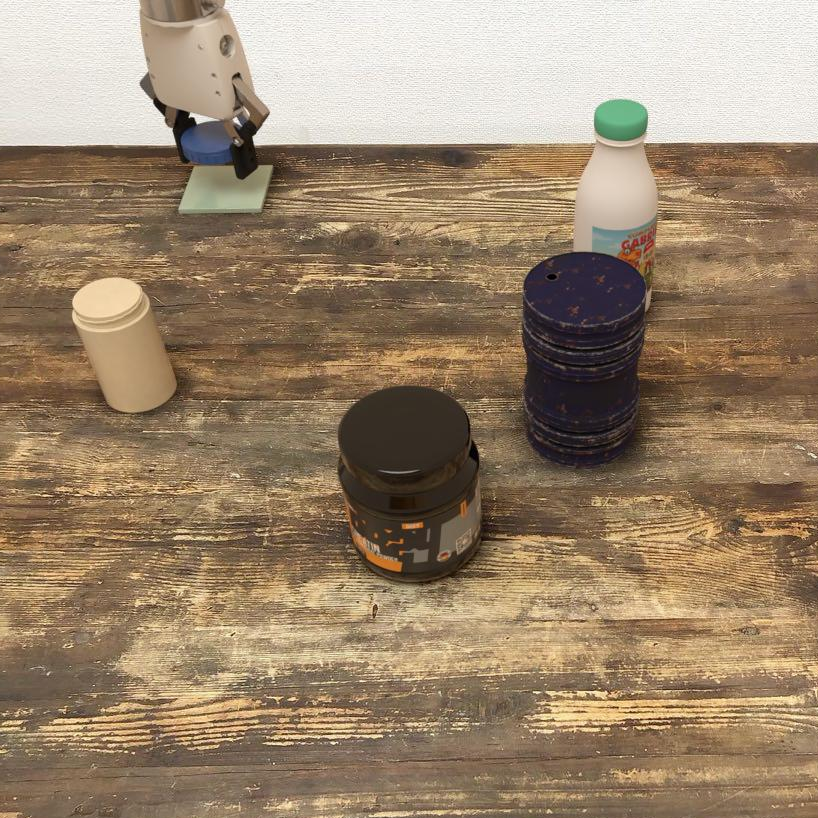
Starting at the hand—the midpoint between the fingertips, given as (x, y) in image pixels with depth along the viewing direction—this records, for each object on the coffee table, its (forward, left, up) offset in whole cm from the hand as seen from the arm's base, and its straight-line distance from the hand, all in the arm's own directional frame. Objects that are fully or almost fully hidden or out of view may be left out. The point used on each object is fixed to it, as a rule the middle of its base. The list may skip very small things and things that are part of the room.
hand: (219, 164), depth 117 cm
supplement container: (-8, -57, -3) cm, 58 cm away
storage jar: (+10, -54, -4) cm, 55 cm away
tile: (0, 0, -3) cm, 3 cm away
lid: (0, 0, +3) cm, 3 cm away
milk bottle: (+23, -41, -4) cm, 47 cm away
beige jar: (-20, -27, -3) cm, 34 cm away
